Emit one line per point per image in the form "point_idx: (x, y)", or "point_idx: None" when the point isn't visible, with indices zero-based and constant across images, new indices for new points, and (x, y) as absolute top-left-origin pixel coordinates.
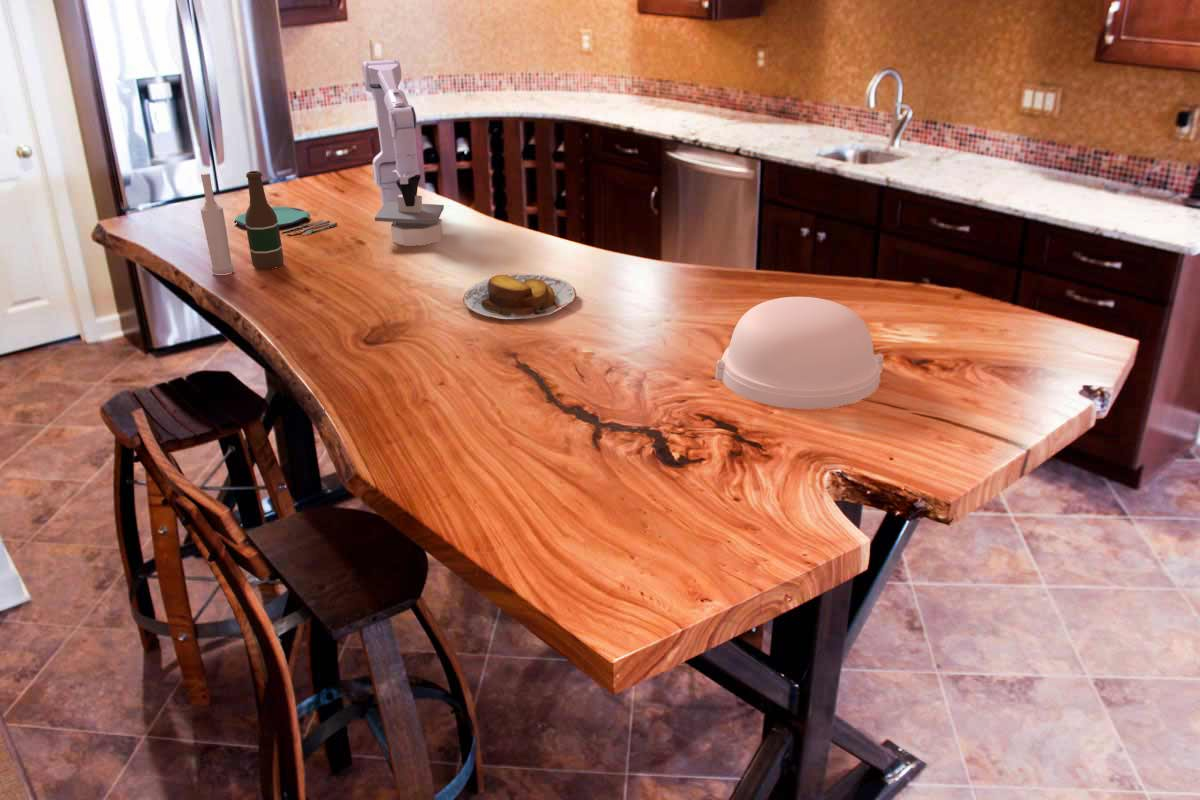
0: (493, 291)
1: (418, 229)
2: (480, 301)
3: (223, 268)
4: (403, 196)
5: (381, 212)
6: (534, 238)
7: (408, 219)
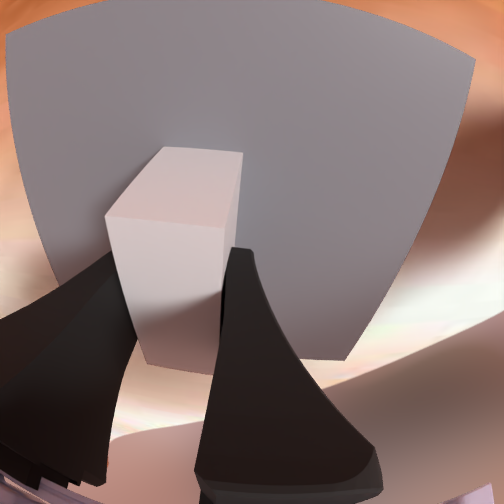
0: None
1: None
2: None
3: None
4: (72, 282)
5: (110, 23)
6: (198, 410)
7: (37, 225)
